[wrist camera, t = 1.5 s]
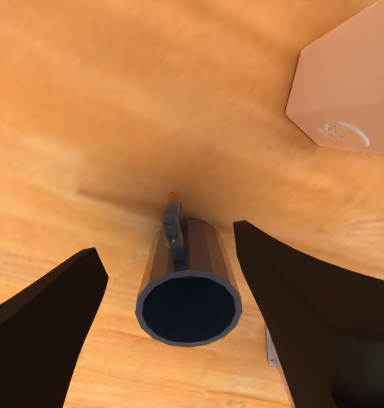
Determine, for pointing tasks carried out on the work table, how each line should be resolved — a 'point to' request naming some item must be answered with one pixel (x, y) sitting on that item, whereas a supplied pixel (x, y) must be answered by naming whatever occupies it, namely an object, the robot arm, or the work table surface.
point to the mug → (187, 283)
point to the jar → (343, 85)
